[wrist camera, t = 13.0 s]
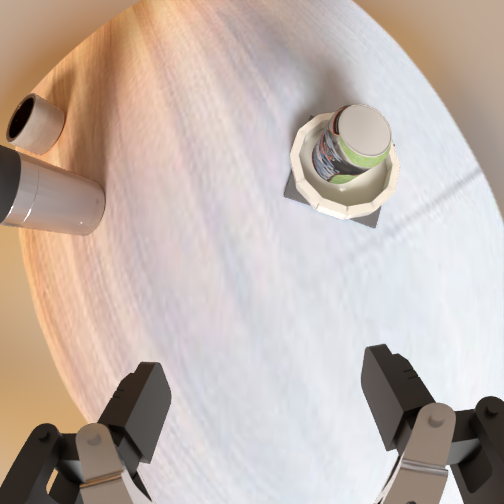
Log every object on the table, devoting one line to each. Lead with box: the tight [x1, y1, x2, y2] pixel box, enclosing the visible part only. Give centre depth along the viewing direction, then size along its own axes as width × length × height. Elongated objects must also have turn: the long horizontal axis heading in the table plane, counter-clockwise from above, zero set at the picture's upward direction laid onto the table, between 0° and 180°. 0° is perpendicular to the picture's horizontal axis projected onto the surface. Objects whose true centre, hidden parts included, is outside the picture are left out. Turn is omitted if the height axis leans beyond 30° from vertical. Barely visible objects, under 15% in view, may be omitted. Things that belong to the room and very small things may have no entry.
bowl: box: [290, 112, 400, 220], centre depth 31 cm, size 13×13×3 cm
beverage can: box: [312, 104, 392, 184], centre depth 26 cm, size 6×7×12 cm
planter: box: [6, 93, 65, 155], centre depth 37 cm, size 11×11×10 cm
